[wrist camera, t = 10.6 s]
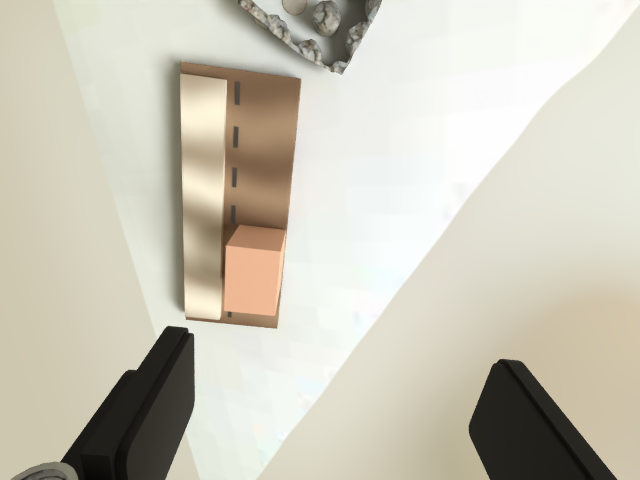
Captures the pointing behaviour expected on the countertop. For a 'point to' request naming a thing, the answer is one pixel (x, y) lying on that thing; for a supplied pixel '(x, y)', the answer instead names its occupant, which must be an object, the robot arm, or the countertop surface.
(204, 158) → the board
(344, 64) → the egg carton
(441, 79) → the countertop surface
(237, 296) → the peach rectangular block
